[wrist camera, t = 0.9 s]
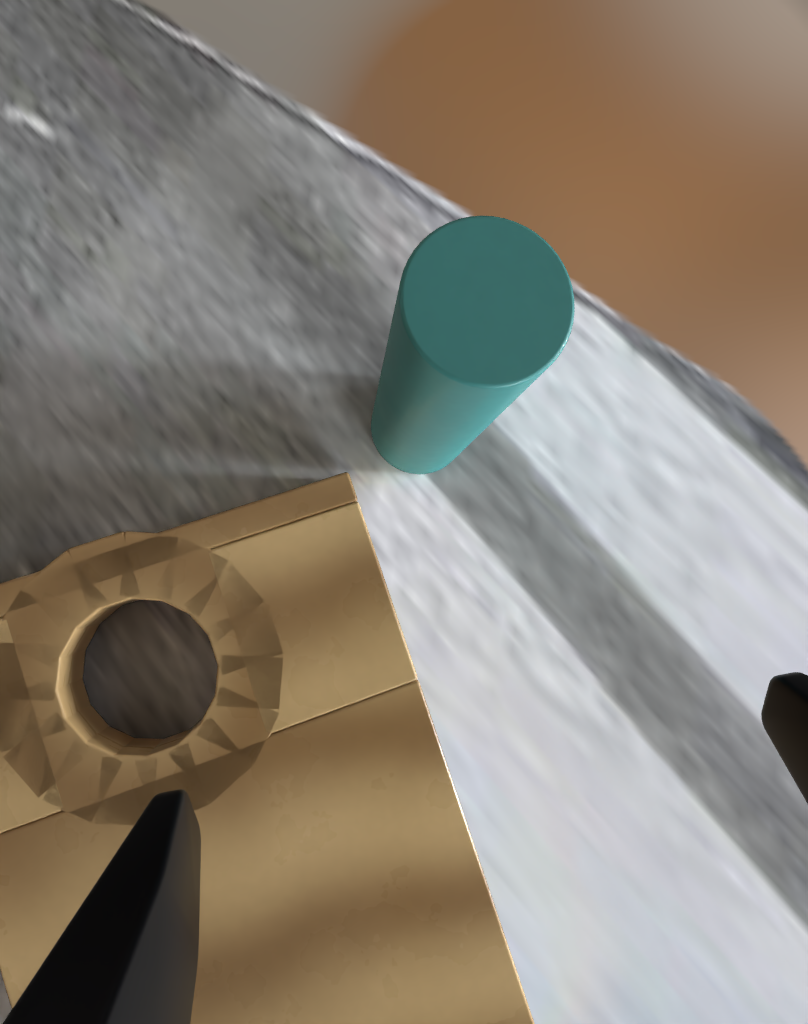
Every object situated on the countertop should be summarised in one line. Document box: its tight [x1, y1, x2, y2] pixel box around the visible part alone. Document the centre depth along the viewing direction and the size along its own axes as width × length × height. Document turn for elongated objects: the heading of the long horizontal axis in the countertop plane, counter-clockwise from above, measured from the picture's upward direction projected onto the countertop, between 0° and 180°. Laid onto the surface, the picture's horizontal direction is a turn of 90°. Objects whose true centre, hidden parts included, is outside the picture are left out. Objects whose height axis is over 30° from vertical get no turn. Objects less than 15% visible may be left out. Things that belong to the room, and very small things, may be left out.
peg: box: [371, 216, 574, 474], centre depth 18 cm, size 3×3×11 cm
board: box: [0, 472, 534, 1024], centre depth 20 cm, size 20×14×2 cm
